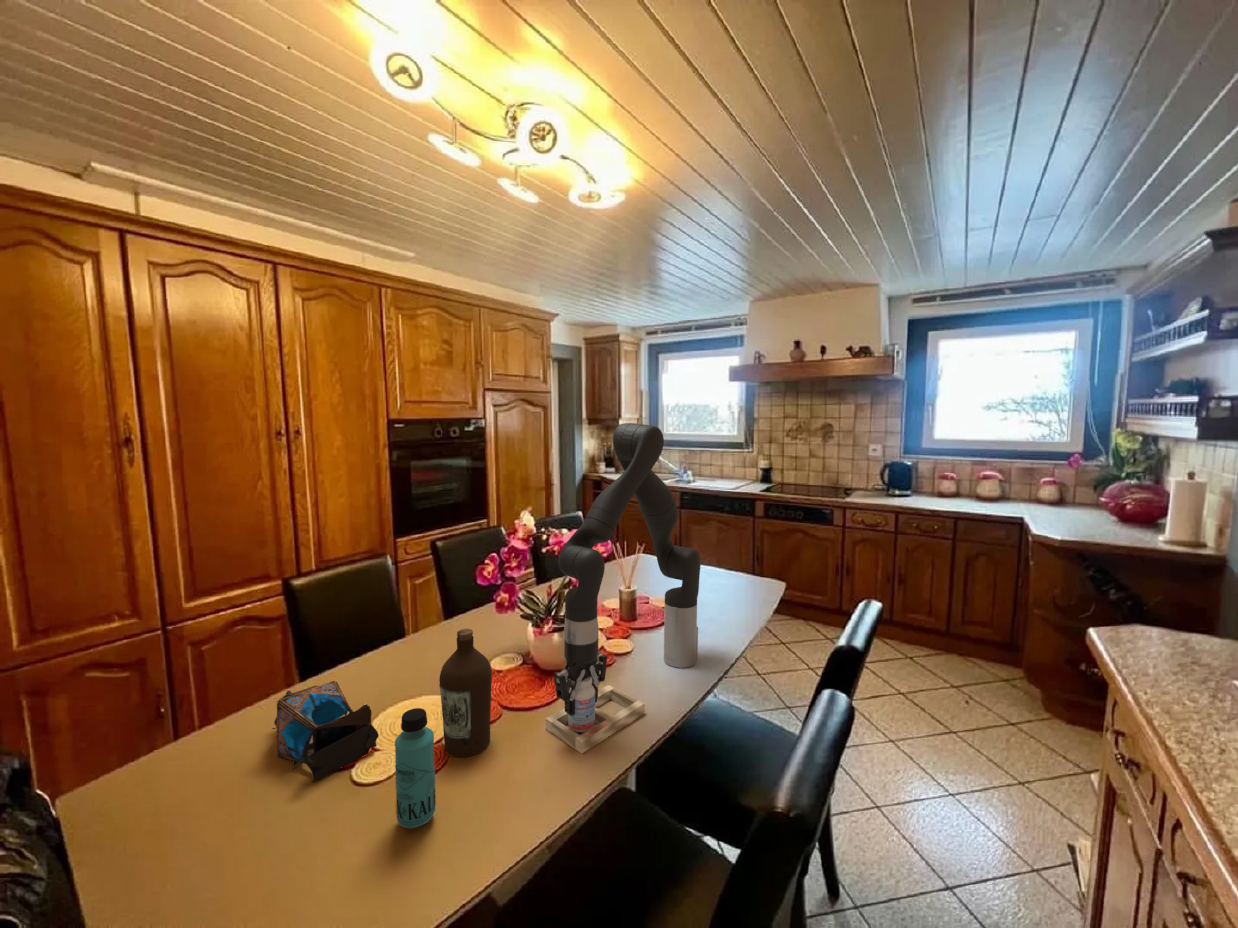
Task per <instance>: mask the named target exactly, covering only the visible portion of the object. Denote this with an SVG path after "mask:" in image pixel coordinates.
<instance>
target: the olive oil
mask: <svg viewBox="0 0 1238 928" xmlns="http://www.w3.org/2000/svg"><path fill="white" fill-rule="evenodd" d="M456 636H457V637H456V650H455V651H454V652H453V653H451V655H450V656H449V657H448V658H447V660H445V662H444V664H443V665H442V667H441V671H440V674H439V680H438V681H439V685H438V686H439V691H440V703H441V715H442V725H443V726H442V727H443V745H444V751H445V752H446V753H447V754H448V755H450V756H452V757H455V758H469V757H473V756H476V755H478V754H480V753H482V752H483V751H485V749H486V748H488V746H489V744H490V741H491V711H492V710H491V707H492V706H491V704H492V679H493V677H492V676H493V672H492V667H491V664H490V661H489V660H488V658H487V657H486V656H485V655H484V654H483V653H481V652H480V651H479V650H478V649H477V648H476V647H474V630H473V629H471V628H462V629H459V630H457V632H456Z"/></svg>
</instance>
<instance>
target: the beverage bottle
mask: <svg viewBox="0 0 1238 928" xmlns="http://www.w3.org/2000/svg"><path fill="white" fill-rule="evenodd" d="M427 724H428V717H427V711H426V710H425V709H424V708H421V707H417V708H410V709H408V710H406V711H405V712H404V713H402V715H401V723H400V729H401V732H400V733H399V734H398V735H397V737H396V738H395V741H394V747H395V748H394V749H395V751H394V752H395V758H394V759H395V765H394V769H395V783H394V784H395V785H394V786H395V792H396V793H395V800H394V801H395V802H394V803H396V805H395V808H396V812H395V815H396V821H397V823H398V824H399V826H401V827H403V828H406V829H415V828H417V827H421V826H423V825H425V824H427V823H428V822H429V821H430V820H431V819H432V818H433V816H434V814H435V811H436V793H437V792H436V791H437V789H436V788H437V787H436V769H435V745H434V744H435V743H434V742H435V739H434V738H435V733H434V731H433V730H432V729H431V728H429V727H427Z"/></svg>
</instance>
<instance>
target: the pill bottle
mask: <svg viewBox="0 0 1238 928" xmlns="http://www.w3.org/2000/svg"><path fill="white" fill-rule="evenodd" d="M571 682H572V683H573V684H575V682H574V681H572V680H571ZM570 692H571V688H570V691H569V693H570ZM574 699H575V715H573V716H570V715H569V714H568V724H567V727H568V728H569V729H571V730H572V731H574V732H575V733H585V732H586V731H588V730H590V729H591V728H593V727H595V726H596V725H595V724H596V723H595V689H594V687H593V686H592V677H591V676H590V677H589V678H587V679H585V680H583V681H581V684H580V687H579V689H578V690H577V691H576V694H575V697H574Z"/></svg>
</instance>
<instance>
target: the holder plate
mask: <svg viewBox="0 0 1238 928" xmlns="http://www.w3.org/2000/svg"><path fill="white" fill-rule="evenodd" d="M610 700H611V701H613V702H615V703H617V704H619V705H620V706H623V707H624V708H623V709H622V710H620V711H618V712H617V713H615V714H613V715H612V716H611V715H609V714H607V713H606V712H604V711H602V710H601V709H599V708H598V707H600V706H602V705H603V704H605V703H607V702H609V701H610ZM645 705H646V703H644V702H643V701H640V700H639V699H637V698H635V697H633V696H631V695H629V694H627V693H625V692H623V691H621V690H619V689H618V688H615V687H614V686H611V685H610V684H608V685H605V686H604V687H602V688H600V689H598V698H597V702H596V703H595V724H596V725H594V727H593V728H591V729H590V730H588V731H586V732H582V733H580V734H579V733H578V732H575V731H573V730H571V729H570V727H569V726H567V725H568V714H567V713H566V712H565V708H563V709H561V710H559V711H557V712H556V713H553V714H552V715H550V716H548V717H546V718H545V729H546V730H547V731H548V732H550V733H551V734H553V735H554V736H555V737H557V738H558V739H559V740H561V741H563V742H564V743H566V744H567V745H569V746H570V747H571V748H573V749H575V750H576V751H577V752H578V753H580V754H583V753H586V752H587V751H588V750H590V749H591V748H593V747H595V746H596V745H598V744H599V743H601V742H602V741H605V740H606V739H607V738H609V737H610V736H612V735H613V734H615V733H616V731H617V730H618V731H620V730H622V729H623V728H625V727H626V726H628V725H629V724H631V723H633V722H634V721H636V720H637V719H638V717H639V716H640V717H642V716H643V715H645V714H646V713H645V712H646V711H645V709H646V708H645V707H646V706H645ZM644 713H645V714H644ZM642 714H643V715H642ZM641 715H642V716H641ZM640 717H639V718H640ZM636 718H637V719H636ZM633 720H634V721H633ZM627 724H628V725H627ZM625 725H626V726H625ZM622 727H623V728H622ZM618 731H617V732H618ZM614 732H615V733H614ZM608 736H609V737H608Z"/></svg>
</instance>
